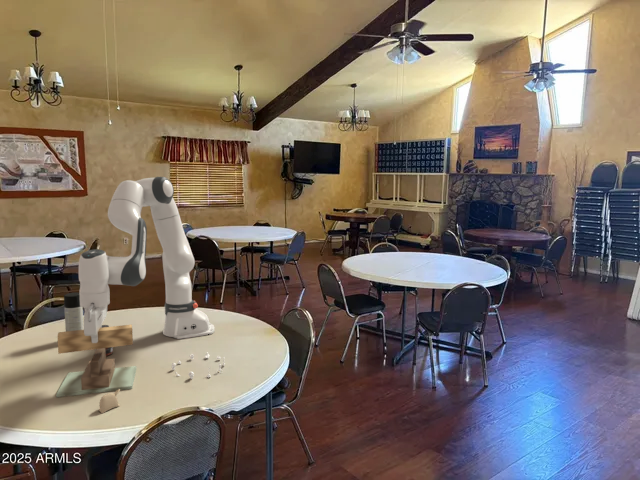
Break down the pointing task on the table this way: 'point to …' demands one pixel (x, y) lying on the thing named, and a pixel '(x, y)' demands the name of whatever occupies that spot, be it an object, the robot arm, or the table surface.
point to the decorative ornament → (109, 401)
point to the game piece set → (191, 371)
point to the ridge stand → (98, 377)
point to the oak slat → (106, 339)
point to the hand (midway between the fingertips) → (96, 339)
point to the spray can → (73, 312)
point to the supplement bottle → (110, 349)
